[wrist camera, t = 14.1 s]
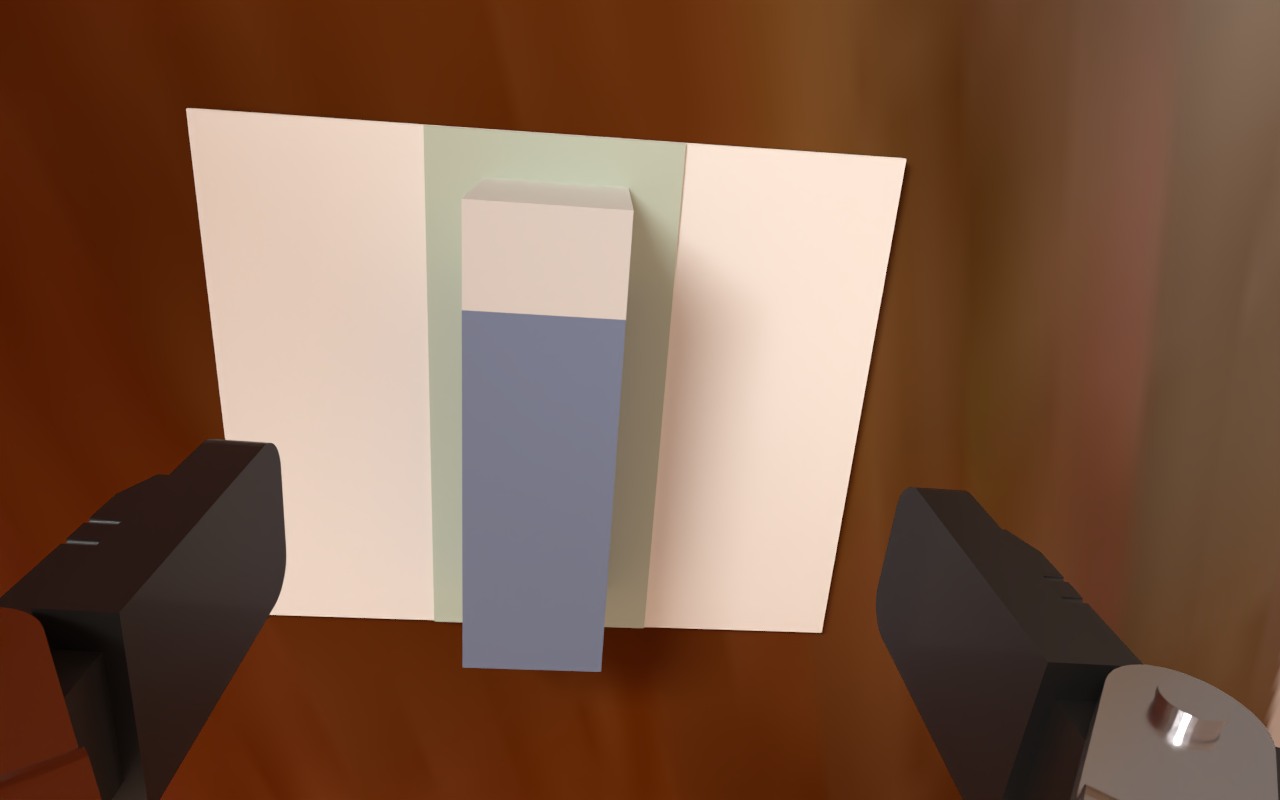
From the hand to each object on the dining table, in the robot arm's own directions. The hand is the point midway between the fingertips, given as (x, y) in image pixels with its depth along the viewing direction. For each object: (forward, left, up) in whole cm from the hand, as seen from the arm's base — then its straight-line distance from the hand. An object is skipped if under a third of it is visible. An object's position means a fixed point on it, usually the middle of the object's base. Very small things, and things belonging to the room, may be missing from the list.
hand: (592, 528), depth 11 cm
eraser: (-1, -5, -17) cm, 18 cm away
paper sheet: (-1, -5, -18) cm, 19 cm away
